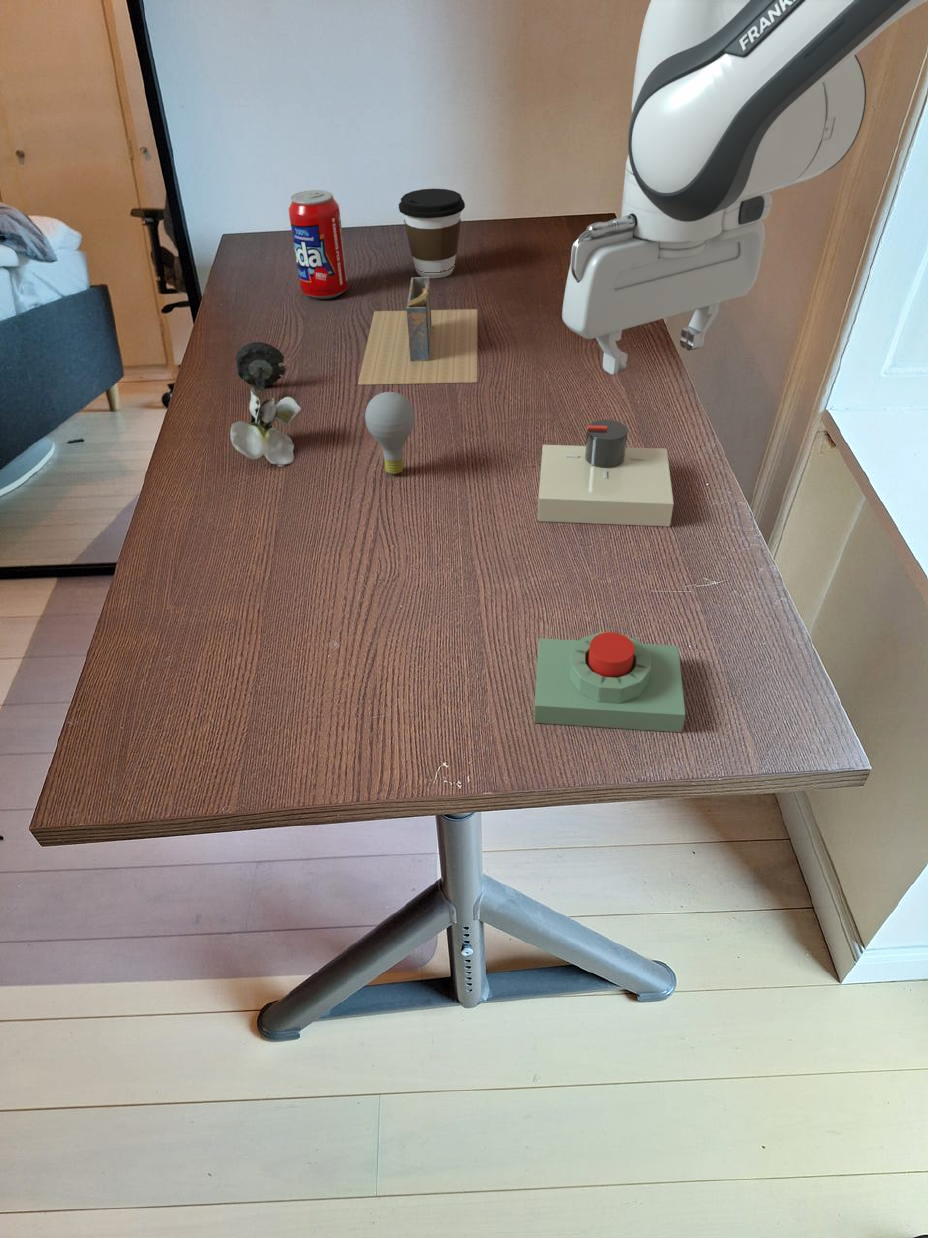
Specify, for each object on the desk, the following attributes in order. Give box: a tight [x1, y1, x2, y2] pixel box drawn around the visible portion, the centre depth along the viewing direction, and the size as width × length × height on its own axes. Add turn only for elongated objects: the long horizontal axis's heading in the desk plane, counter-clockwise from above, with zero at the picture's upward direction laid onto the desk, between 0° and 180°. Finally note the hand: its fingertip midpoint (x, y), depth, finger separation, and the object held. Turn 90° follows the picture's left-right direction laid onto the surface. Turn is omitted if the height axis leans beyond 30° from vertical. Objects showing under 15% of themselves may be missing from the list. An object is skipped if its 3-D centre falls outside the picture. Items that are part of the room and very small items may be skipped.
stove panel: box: [537, 444, 675, 528], centre depth 94 cm, size 14×13×3 cm
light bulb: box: [364, 391, 415, 475], centre depth 96 cm, size 6×6×10 cm
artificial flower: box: [229, 341, 302, 468], centre depth 106 cm, size 9×22×10 cm, turn 6°
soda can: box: [288, 189, 349, 300], centre depth 136 cm, size 8×8×15 cm
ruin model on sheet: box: [357, 276, 479, 386], centre depth 122 cm, size 25×16×10 cm, turn 179°
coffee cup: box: [398, 188, 466, 279], centre depth 143 cm, size 11×11×12 cm
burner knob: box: [585, 419, 629, 468], centre depth 94 cm, size 4×4×4 cm
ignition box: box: [533, 631, 686, 733], centre depth 71 cm, size 12×8×4 cm, turn 84°
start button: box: [588, 631, 635, 678], centre depth 70 cm, size 4×4×2 cm
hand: (653, 358), depth 82 cm, fingers open, 8 cm apart
